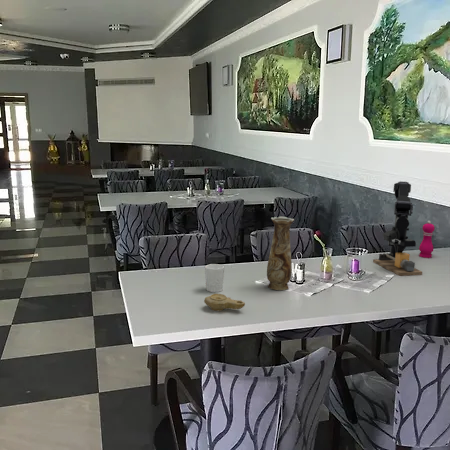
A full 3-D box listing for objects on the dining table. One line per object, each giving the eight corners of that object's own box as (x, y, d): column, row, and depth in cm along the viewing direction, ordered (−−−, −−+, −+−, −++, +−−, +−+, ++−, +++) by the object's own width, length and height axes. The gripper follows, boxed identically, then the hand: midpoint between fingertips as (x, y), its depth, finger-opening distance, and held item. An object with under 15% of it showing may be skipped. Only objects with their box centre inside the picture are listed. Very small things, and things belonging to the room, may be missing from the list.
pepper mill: (415, 255, 265) (419, 219, 261) (425, 254, 268) (428, 219, 264) (425, 258, 259) (429, 222, 255) (435, 257, 262) (439, 221, 258)
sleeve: (394, 265, 237) (395, 252, 236) (403, 265, 238) (404, 252, 237) (399, 267, 233) (400, 254, 232) (408, 267, 234) (409, 254, 233)
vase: (261, 286, 207) (264, 218, 201) (276, 281, 215) (279, 215, 209) (281, 292, 200) (284, 221, 194) (295, 287, 208) (299, 218, 202)
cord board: (373, 262, 250) (374, 250, 249) (393, 261, 253) (394, 249, 251) (399, 276, 227) (400, 263, 226) (422, 274, 230) (423, 262, 228)
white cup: (214, 285, 207) (215, 262, 205) (227, 290, 202) (228, 267, 200) (201, 289, 202) (201, 266, 200) (213, 294, 196) (214, 270, 194)
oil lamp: (245, 313, 177) (246, 300, 176) (207, 315, 174) (207, 302, 173) (239, 303, 187) (239, 291, 186) (202, 305, 184) (203, 292, 183)
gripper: (376, 222, 242) (373, 252, 245) (397, 229, 224) (393, 262, 228) (396, 221, 245) (393, 251, 248) (418, 229, 227) (414, 261, 230)
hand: (397, 256), depth 238 cm, fingers closed
